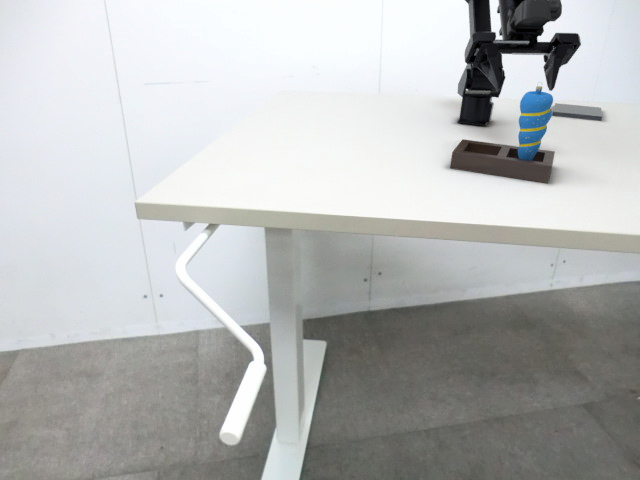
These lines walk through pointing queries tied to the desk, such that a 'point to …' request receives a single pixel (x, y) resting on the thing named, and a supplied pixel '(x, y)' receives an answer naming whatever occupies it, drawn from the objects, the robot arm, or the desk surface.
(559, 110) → the coaster
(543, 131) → the ornament
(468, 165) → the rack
